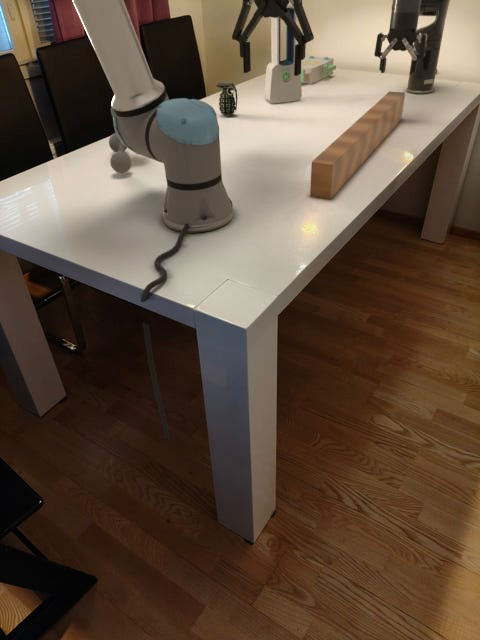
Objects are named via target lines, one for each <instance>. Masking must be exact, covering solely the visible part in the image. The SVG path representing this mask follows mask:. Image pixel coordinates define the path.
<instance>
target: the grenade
mask: <svg viewBox="0 0 480 640" xmlns="http://www.w3.org/2000/svg"><path fill="white" fill-rule="evenodd" d="M215 87H217V88H219V89H221V93H219V97H218V101H219V102H218V106H219V108H218V109H219V112H220V114H221V115H222V116H224V117H231V116H233V115H234V113H235V112H236V111H237V108H238V89H237V87H236V85H235V84H234V83H233V82H218V83H217V84H216V86H215ZM232 91H233V92H232ZM234 94H235V96H234Z"/></svg>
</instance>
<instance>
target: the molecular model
mask: <svg viewBox="0 0 480 640" xmlns="http://www.w3.org/2000/svg"><path fill="white" fill-rule="evenodd" d="M110 115H111V117H112V120H113V119H114V117H115V114H114V110H113V108H112V105H110ZM108 146H109V148H110V150H112V151H113V152H114V153H112V155H111V157H110V159H109V162H110V167H111V168H112V170H113V171H115V172H116V173H118V174H126V173H127V172H129V170H131V168H132V163H133V162H132V158H131V156H130V155H129V154H128V153H127V152H125V151H126V150H127V149H128V148H127V147H126V146H125V145H124V144H123V143H122V142H121V141H120V140H119V138H118V137H117V135H116V132H114V133H112V134H110V136H109V139H108Z"/></svg>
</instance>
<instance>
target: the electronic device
mask: <svg viewBox="0 0 480 640" xmlns="http://www.w3.org/2000/svg"><path fill="white" fill-rule="evenodd" d="M287 9H288V10H289V12H290V14H291V16H292V18H293V19H294V21H295V23H296V24H297V15H296V13H295V10H294V6H292V5H291V4H288V5H287ZM270 20H271V21H270V30H271V31H270V39H271V40H270V42H271V44H270V45H271V46H270V47H271V49H270V50H271V55H270V56H271V61H270V62H269V63H268V64H267V65H266V69H265V70H266V71H265V80H264V89H263V92H264V94H263V95H264V98H266V99H267V101H269V102H270V103H271V104H281V103H289V102H297V101H300V99H301V98H302V97H303V94H302V83H301V76H300V74H299V75H298V76H294V63H295V45H297V41H296V39H295V38H294V36H293V35H292V33H291V31H290V30H289V28H288V27H287V25H286V24H285V26H286V32H285V35H286V36H285V37H286V39H285V40H286V42H285V45H286V46H285V59H283V60H281V18H280V17H277V18H273V17H270Z"/></svg>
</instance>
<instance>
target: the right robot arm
mask: <svg viewBox="0 0 480 640" xmlns="http://www.w3.org/2000/svg"><path fill="white" fill-rule="evenodd" d="M450 2H451V0H392V4H391V12H390V13H391V14H390V20H389V28H388V29H389V30H388V33H384V32H380V33H378V34H377V37H376V41H375V48H374V54H373V55H374V57H377V58H378V59H379V60H380V61H379V68H378V69H379V72H380V73H381V74H384V73H386V66H387V56H388V55H389V54H390V53H391V52H392V51H394V52H396V51H397V52H398V51H401V52H406V51H407V52H408V54H409V55H410V57H411V60H410V68H409V73H408V80H407V87H406V91H407V92H408V93H411V94H429V93H432V92H434V84H435V80H436V74H437V73H438V69H437V68H438V64H439V63H438V62H439V57H440V52H441V46H442V41H443V35H444V30H445V25H446V19H447V16H448V10H449V5H450ZM419 17H435V18H434V20H433V22H431V23H429V24H428V25H425V26H421V27H419V28H418V25H419V24H418V23H419ZM385 40H387V42H388V46H387V47H386V48H385V49H384V51H383V52H382V47H383V42H385Z"/></svg>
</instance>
